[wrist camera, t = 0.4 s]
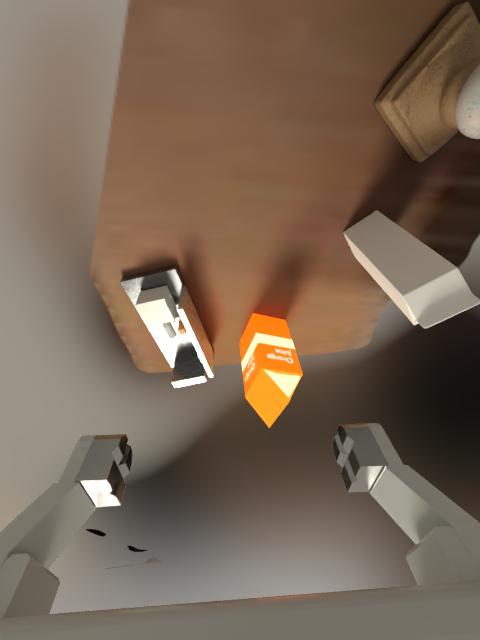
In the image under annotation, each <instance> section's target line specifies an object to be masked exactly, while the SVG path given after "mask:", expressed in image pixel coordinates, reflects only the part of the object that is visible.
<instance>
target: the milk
mask: <svg viewBox="0 0 480 640" xmlns="http://www.w3.org/2000/svg"><path fill="white" fill-rule="evenodd" d="M343 233H344V236H345V238H346V240H347V242H348V244H349V246H350V248H351V250H352V252H353V254H354V256H355V258H356V259H357V260H358V261H359V262H360V263H361V264H362V266H363V267H364V268H365V269H366V270H367V271H368V272H369V274H370V275H371V276H372V277H373V278H374V279H375V281H376V282H377V283H378V284H379V285H380V286H381V287H382V289H383V290H384V291H385V292H386V293H387V294H388V296H389V297H390V298H391V299H392V300H393V301H394V302H395V304H396V305H397V306H398V307H399V308H400V309H401V310H402V312H403V313H404V314H405V315H406V316H407V317H408V319H409V320H410V321H411V322H412V323H413V324H414V325H416V324H418V323H419V324H420V325H421V326H422V327H424V328H428V327H430V326H432V325H435V324H437V323H439V322H441V321H443V320H445V319H448V318H449V317H452V316H454V315H456V314H458V313H460V312H463V311H465V310H467V309H469V308H471V307H473V306H475V305H478V304H479V303H480V299H478V298H477V297H476V296H474V295H473V294H472V293H471V291H470V289H469V287H468V285H467V284H466V282H465V280H464V278H463V276H462V275H461V273H460V271H459V269H458V268H457V267H456V266H454V265H453V264H451V263H450V262H449V261H447V260H446V259H444V258H443V257H442V256H440V255H439V254H437V253H436V252H435V251H433V250H432V249H430V248H429V247H428V246H426V245H425V244H423V243H422V242H421V241H419V240H418V239H416V238H415V237H414V236H412V235H411V234H409V233H408V232H407V231H405V230H404V229H402V228H401V227H400V226H398V225H397V224H395V223H394V222H393V221H391V220H390V219H388V218H387V217H386V216H384V215H383V214H381V213H380V212H379V211H377V210H376V211H375V212H373V213H372V214H370V215H369V216H367V217H365V218H364V219H362V220H361V221H359V222H358V223H356V224H355V225H353V226H352V227H350V228H348V229H347V230H345V231H344V232H343Z"/></svg>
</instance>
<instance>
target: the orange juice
mask: <svg viewBox="0 0 480 640" xmlns="http://www.w3.org/2000/svg"><path fill="white" fill-rule="evenodd" d="M240 351H241V360H242V372H243V379H244V388H245V398H246V399H247V400H248V401H249V403H250V404H251V405H252V407H253V408H254V409H255V410H256V411H257V413H258V414H259V415H260V416H261V418H262V419H263V420H264V422H265V423H266V424H267V425H268V427H270V426H271V425H272V423H273V422H274V421H275V419H276V418H277V417H278V416H279V414H280V413H281V411H282V410H283V409H284V408H285V406H286V405H287V404H288V402H289V401H290V397H291V395H292V393H293V392H294V389H295V388H296V385H297V384H298V382H299V380H300V378H301V376H302V375H303V373H302V370H301V367H300V364H299V361H298V358H297V355H296V351H295V347H294V344H293V341H292V339H291V336H290V333H289V330H288V327H287V324H286V320H283V319H278V318H273V317H269V316H264V315H259V314H255V313H253V314H252V316H251V318H250V320H249V322H248V325H247V327H246V329H245V331H244V333H243V336H242V338H241V340H240Z"/></svg>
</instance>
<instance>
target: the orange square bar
mask: <svg viewBox="0 0 480 640" xmlns="http://www.w3.org/2000/svg"><path fill="white" fill-rule="evenodd" d="M178 332H179V334H180V335H182V334H186V332H187V329H186V327H185V325H184V323H183V321H180V322H179V324H178Z"/></svg>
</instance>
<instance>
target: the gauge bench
mask: <svg viewBox="0 0 480 640" xmlns="http://www.w3.org/2000/svg"><path fill="white" fill-rule="evenodd" d="M120 283H121V285H122V286H123V288H124V290H125V291H126V293H127V294H128V296H129V298H130V299H131V301H132V303H133V304H134V306H135V304H136V301H137V298H138V295H139V293H140V291H145V290H149V289H153V288H158V287H162V286H166V285H167V287H168V289H169V291H170V293H171V296H172V298H173V300H174V302H175V304H176V306H177V310H178V312H179V315H180V317H181V319H182V321H183V323H184V325H185V327H186V329H187V332H186V334H182V335H180V334H179V332H178V324H179V322H176V321H172V322H171V324H172V326H173V328H174V329H175V331H176V333H177V336H176V337H175V338H173V339H170V338H169V336H168V334H167V333H166V331H165V329H164V327H163V325H162V324H158V325H154V326H149V327H148V326H147V324H146V323H145V321H144V319H143V318H142V316H141V314H140V313H139V311H138V309H137V308H136V306H135V308H136V309H137V311H138V313H139V314H140V316H141V318H142V319H143V321H144V323H145V324H146V326H147V328H148V329H149V331H150V333H151V334H152V336H153V337H154V339H155V341H156V342H157V344H158V346H159V347H160V349H161V351H162V352H163V354H164V356H165V357H166V359H167V361H168V362H169V364H170V366H171V367H172V368H174V369H173V376H172V384H173V386H174V387H175V388H178V387H183V386H187V385H193V384H197V383H202V382H207V373H208V375H209V377H210V378H211V377H213V359H214V354H213V350H212V347H211V345H210V342H209V340H208V338H207V335H206V333H205V330H204V328H203V326H202V323H201V321H200V318H199V316H198V314H197V311H196V309H195V306H194V304H193V302H192V299H191V297H190V294H189V292H188V290H187V287H186V285H184V282H183V280H182V278H181V275H180V273H179V270H178V268H177V266H176V265H174V266H169V267H165V268H161V269H157V270H152V271H148V272H144V273H140V274H136V275H131V276H127V277H123V278H122V279H121V281H120Z"/></svg>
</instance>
